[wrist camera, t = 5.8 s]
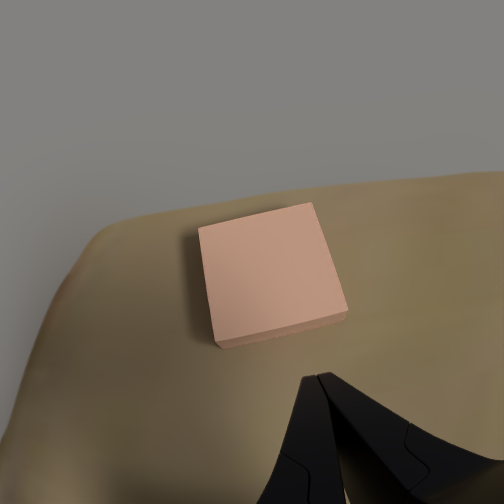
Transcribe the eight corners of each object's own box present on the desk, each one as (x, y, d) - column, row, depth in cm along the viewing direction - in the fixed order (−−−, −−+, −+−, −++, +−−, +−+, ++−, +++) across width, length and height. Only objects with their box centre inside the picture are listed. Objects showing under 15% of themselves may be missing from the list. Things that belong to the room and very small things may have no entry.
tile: (348, 310, 18) (311, 202, 22) (215, 341, 18) (198, 228, 22) (342, 322, 21) (310, 222, 24) (224, 350, 21) (206, 246, 24)
